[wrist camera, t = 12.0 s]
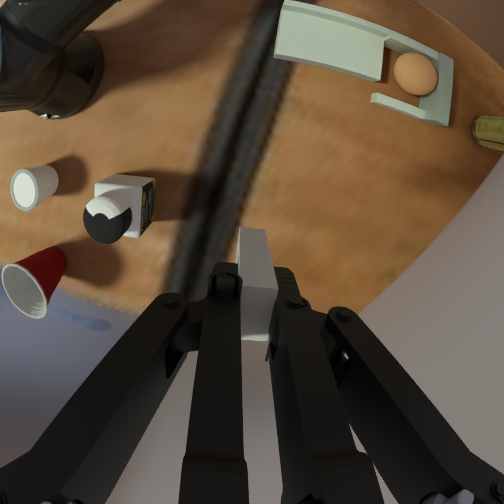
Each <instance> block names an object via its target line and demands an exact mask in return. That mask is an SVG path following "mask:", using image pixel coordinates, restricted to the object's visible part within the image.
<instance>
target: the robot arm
mask: <svg viewBox="0 0 504 504" xmlns="http://www.w3.org/2000/svg"><path fill="white" fill-rule="evenodd" d="M120 1H122V0H7V1H6V2H5V3H4V4H3V5H2V6H1V8H0V112H6V111H15V110H29V111H31V112H32V113H34V114H36V115H38V116H40V117H42V118H45V119H63V118H67V117H69V116H72V115H74V114H75V113H77V112H78V111H80V110H81V109H82V108H83V107H84V106H85V105H86V104H87V103H88V102H89V101H90V99H91V98H92V97H93V95H94V93H95V92H96V90H97V88H98V86H99V84H100V81H101V78H102V74H103V69H104V56H103V52H102V49H101V47H100V45H99V43H98V42H97V41H96V40H95V39H94V38H92V37H90V36H88V35H86V34H84V33H81V32H82V31H83V30H84V29H85V28H87V27H88V26H89V25H90V24H91V23H92V22H93V21H95V20H96V19H97V18H98V17H99V16H100V15H102V14H103V13H104V12H105V11H107V10H108V9H109V8H110V7H112V6H113V5H114V4H115V3H117V2H120ZM268 334H269V337H270V341H269V345H268V349H267V354H266V358H265V361H268V358H269V364H270V373H271V382H272V391H273V400H274V409H275V418H276V427H277V436H278V445H279V455H280V464H281V473H282V483H283V492H282V497H281V504H384V500H383V497H382V493H381V490H380V486H379V483H378V479H377V476H376V472H375V469H374V466H373V464H374V465H375V467H376V469H377V470H378V472H379V473H380V475H381V477H382V478H383V480H384V481H385V483H386V485H387V487H388V488H389V490H390V492H391V493H392V495H393V496H394V497H395V499H396V500H397V502H398V503H399V504H504V474H502V473H501V472H499V471H498V470H496V469H495V468H493V467H492V466H490V465H489V464H487V463H486V462H485V461H483V460H482V459H480V458H479V457H477V456H476V455H475V454H473V453H472V452H470V451H469V449H468V448H467V447H466V445H465V444H464V443H463V441H462V440H461V439H460V438H459V437H458V435H457V434H456V432H455V431H454V430H453V429H452V427H451V426H450V425H449V423H448V422H447V421H446V420H445V419H444V417H443V416H442V415H441V414H440V412H439V411H438V410H437V409H436V407H435V406H434V405H433V403H432V402H431V401H430V400H429V399H428V397H427V396H426V395H425V394H424V392H423V391H422V390H421V389H420V388H419V387H418V385H417V384H416V383H415V382H414V380H413V379H412V378H411V377H410V376H409V374H408V373H407V372H406V371H405V370H404V368H403V367H402V366H401V365H400V364H399V362H398V361H397V360H396V359H395V358H394V357H393V355H392V354H391V353H390V352H389V351H388V350H387V349H386V347H385V346H384V345H383V344H382V343H381V341H380V340H379V339H378V338H377V337H376V336H375V335H374V333H373V332H372V331H371V330H370V329H369V328H368V327H367V325H366V324H365V323H364V322H363V321H362V320H361V319H360V317H359V316H358V315H357V314H356V313H355V312H353V311H352V310H350V309H348V308H346V307H337V306H336V307H332V308H331V309H330V310H329V312H328V314H325V313H321V312H318V311H315V310H312V309H311V306H310V304H309V302H308V301H307V300H306V299H304V298H303V297H301V295H300V292H299V289H298V286H297V283H296V280H295V277H294V274H293V272H292V271H290V270H289V269H288V268H283V267H274V266H273V262H272V258H271V253H270V249H269V245H268V240H267V236H266V231H265V230H263V229H254V228H246V227H240V229H239V237H238V245H237V253H236V261H235V263H228V262H217V263H216V264H215V265H214V266H213V271H212V274H210V276H209V277H208V291H207V297H206V298H204V299H202V300H200V301H195V302H188V300H187V298H186V297H185V296H183V295H181V294H178V293H164V294H161V295H159V296H158V297H156V298H155V299H154V300H153V302H152V303H151V304H150V305H149V306H148V307H147V308H146V309H145V311H144V312H143V313H142V314H141V315H140V316H139V317H138V318H137V320H136V321H135V322H134V323H133V324H132V325H131V327H130V328H129V329H128V330H127V331H126V332H125V333H124V335H123V336H122V337H121V338H120V339H119V340H118V342H117V343H116V344H115V345H114V346H113V347H112V349H111V350H110V351H109V352H108V353H107V354H106V356H105V357H104V358H103V359H102V360H101V362H100V363H99V364H98V365H97V367H96V368H95V369H94V370H93V371H92V372H91V374H90V375H89V376H88V377H87V378H86V380H85V381H84V382H83V383H82V385H81V386H80V387H79V388H78V390H77V391H76V392H75V393H74V394H73V396H72V397H71V398H70V399H69V401H68V402H67V403H66V404H65V406H64V407H63V408H62V410H61V411H60V412H59V413H58V415H57V416H56V417H55V418H54V420H53V421H52V423H51V424H50V425H49V426H48V427H47V429H46V430H45V432H44V433H43V434H42V435H41V437H40V438H39V440H38V441H37V442H36V443H35V445H34V446H33V447H32V449H31V450H30V451H29V452H27V453H25V454H24V455H22V456H20V457H19V458H17V459H15V460H14V461H12V462H10V463H9V464H7V465H5V466H4V467H2V468H0V504H105V502H106V500H107V499H108V497H109V496H110V494H111V492H112V490H113V489H114V487H115V484H116V483H117V481H118V480H119V478H120V476H121V474H122V472H123V470H124V468H125V467H126V465H127V463H128V461H129V460H130V458H131V456H132V454H133V452H134V450H135V449H136V447H137V445H138V443H139V441H140V440H141V438H142V436H143V434H144V432H145V431H146V429H147V427H148V425H149V423H150V422H151V420H152V418H153V416H154V414H155V412H156V411H157V409H158V407H159V405H160V403H161V402H162V400H163V398H164V396H165V395H166V393H167V391H168V389H169V387H170V386H171V384H172V382H173V380H174V378H175V377H176V375H177V373H178V371H179V369H180V368H181V366H182V364H183V362H184V361H185V359H186V357H187V354H188V352H190V351H198V350H199V352H198V358H197V365H196V372H195V380H194V387H193V395H192V402H191V410H190V419H189V427H188V435H187V444H186V452H185V456H184V458H183V463H182V471H181V481H180V491H179V492H180V493H179V503H178V504H249V490H248V471H247V463H246V461H245V459H244V446H243V412H242V411H243V409H242V364H241V339H244V340H257V341H267V339H268ZM345 352H346V354H347V355H348V357H349V358H348V360H347V359H346V358H345V356H344V354H345ZM349 424H350V426H351V427H352V429H353V431H354V432H355V434H356V435H357V437H358V439H359V440H360V442H361V444H362V445H363V447H364V449H365V450H366V452H367V454H368V455H367V454H366V453H363V452H359V451H358V450H357V449H356V446H355V443H354V439H353V436H352V433H351V429H350V426H349ZM372 462H373V463H372Z"/></svg>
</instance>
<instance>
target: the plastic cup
mask: <svg viewBox="0 0 504 504" xmlns="http://www.w3.org/2000/svg"><path fill="white" fill-rule="evenodd" d="M66 267H67V262H66V258H65V257H64V255H63V253H62V252H61V251H60V250H59V249H57V248H55V247H50V248H46V249H44V250H42V251H39V252H37V253H35V254H33V255H31V256H29V257H27V258H25V259H23V260H20V261H18V262H16V263H9V264H8V265H6V266H5V267H3V271H2V283H3V286H4V289H5V291H6V293H7V295H8V297H9V298H10V300H11V301H12V303H13V304H14V305H15V306H16V307H17V308H18V309H19V310H20V311H21V312H23V313H24V314H26V315H27V316H29V317H32V318H36V319H39V318H42V317H44V316H45V314H46V312H47V309H48V308H47V306H48V303H49V300H50V298H51V295H52V293H53V292H54V290H55V288H56V287H57V285H58V283H59V281H60V280H61V277H62V276H63V274H64V272H65V271H66Z"/></svg>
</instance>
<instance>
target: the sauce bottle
mask: <svg viewBox="0 0 504 504" xmlns="http://www.w3.org/2000/svg"><path fill="white" fill-rule="evenodd" d="M472 133H473V138H474V140H475V141H476V142H477V144H479V145H480V146H483V147H486V148H491V149H496V150H501V151H504V117H498V116H485V115H483V116H478V117H476V118H475V119H474V121H473V123H472Z"/></svg>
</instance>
